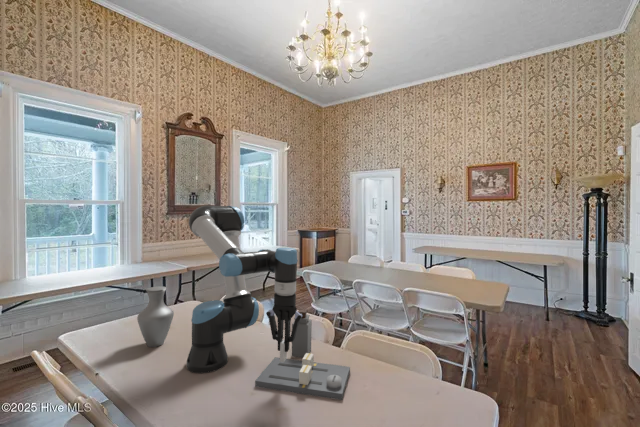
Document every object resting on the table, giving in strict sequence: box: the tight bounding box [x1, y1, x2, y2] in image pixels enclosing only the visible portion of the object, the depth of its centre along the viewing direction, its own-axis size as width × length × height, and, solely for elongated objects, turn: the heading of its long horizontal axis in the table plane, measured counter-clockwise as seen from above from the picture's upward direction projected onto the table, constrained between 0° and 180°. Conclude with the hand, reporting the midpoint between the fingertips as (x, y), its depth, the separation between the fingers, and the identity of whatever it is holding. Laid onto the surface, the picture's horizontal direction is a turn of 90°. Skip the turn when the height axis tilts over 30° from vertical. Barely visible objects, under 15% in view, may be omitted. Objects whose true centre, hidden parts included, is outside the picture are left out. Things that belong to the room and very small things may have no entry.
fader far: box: [301, 352, 315, 367], centre depth 114 cm, size 3×5×4 cm, turn 166°
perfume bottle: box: [291, 309, 313, 359], centre depth 130 cm, size 7×7×18 cm
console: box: [254, 357, 351, 401], centre depth 110 cm, size 30×18×4 cm, turn 76°
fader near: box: [299, 365, 312, 385], centre depth 105 cm, size 3×5×4 cm, turn 166°
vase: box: [136, 285, 175, 348], centre depth 138 cm, size 14×14×25 cm
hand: (283, 359), depth 107 cm, fingers closed
